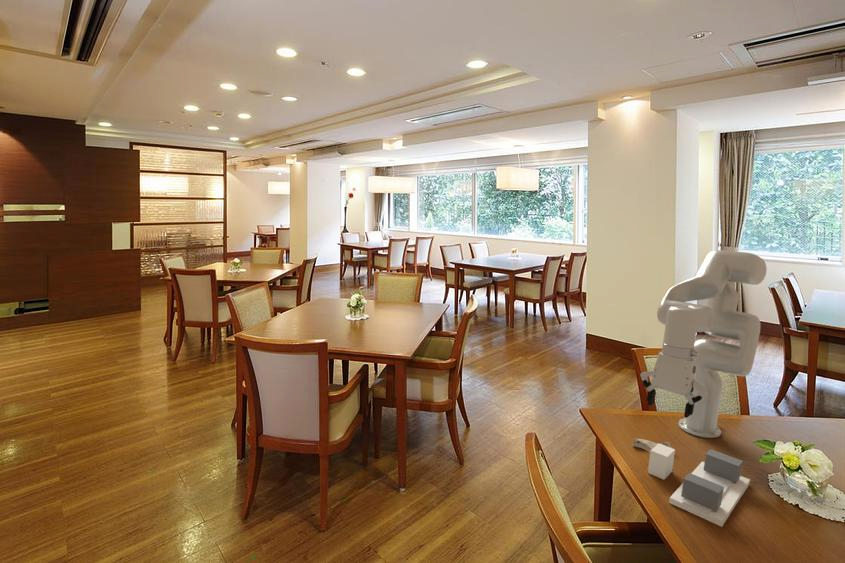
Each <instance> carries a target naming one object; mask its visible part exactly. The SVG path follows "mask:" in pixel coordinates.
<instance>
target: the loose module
mask: <svg viewBox="0 0 845 563" xmlns="http://www.w3.org/2000/svg"><path fill="white" fill-rule="evenodd" d="M662 444H663V443H658V444H657V445H656V446H655V447H654V448H653V449H652V450H651V451H650V452H649V460H648V468H647V473H648V474H650V475H651V476H654V477H657V478H659V479H662V480H665V479H667V478H668V477H669V476H670V475H671V473H672V472H673V467H674V461H675V455H676V449H675V448H673V447H672V448H670V447H667V446H664V445H662Z"/></svg>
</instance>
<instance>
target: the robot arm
mask: <svg viewBox="0 0 845 563" xmlns="http://www.w3.org/2000/svg"><path fill="white" fill-rule="evenodd" d="M766 275H767V264H766V262H765V260H764V258H762V257H760V256H758V255H757V254H754V253H750V252H745V251H743V252H742V251H734V250H723V249H721V250H720V249H719V250H718V249H717V250H712V251H709V252H708V253H707V254H706V255H705V256H704V257H703V260H702V261H701V263H700V265H699V267H698V268H697V270H696V273H694V275H693V277H692V278H689V279H686V280H684V281H681V282H679V283H677V284H675V285H673V286H672V287H670V288H669V289H668V290H666V291H667V292H666V293H665V294H664V296H663V297H662V299H661V301H660V302H659V305H658V308H657V312H656V316H657V321H659V323H661V324H662V325H664V326H665V327H664V334H663V340H662V346H661V351H659V353H658V354H657V358H656V360H655V363H654V367H653V370H649V371H643V372H641V373H640V374H639V376H640V378H641V381H642V384H643V385H644V387H645V388H646V392H647V396H646V402H647V406H652V405H654V404H655V400H656V394H657V390H656V388H657V389H661V390H664V391H667V392H671V393H675V394H677V395H681V396H684V399H685V400H686V403H685V407H684V412H683V413H684V415H683V416H684V418H681V419H679V420H678V426H679V428H680V429H681V430H682V431H684V432H686V433H688V434H690V435H693V436H696V437H700V438H707V439H714V438H715V439H717V438H719V437H720V436H721V435H722V430H721V429H720V427H718V418H719V413H720V411H719V410H720V405H721V398H722V394H723V393H722V392H723V387H724V384H723V380H722V377H721V376H720V374H719V372H721V373H724V374H729V375H733V376H739V377H746V376H747V377H748V375H750V373H751V371H752V369H753V366H754V362H755V357H756V353H757V352H756V351H757V349H758V348H757V347H758V345H759V338H760V335H761V320H760V319H759V317H758V316H756V315H755V314H752V313H747V312H744V311H743V312H741V311H738V310H737V307H738V305H739V300H740V297H739V293H738V290H736V288H735V287H734V285H733V283H738V284H745V285H752V286H753V285H754V286H757V285H759V284H761V283H762V282H763V281H764V280H765V277H766ZM702 300H707V301H706V302H707V303H706V305H702V304H696V303H691V302H692V301H693V302H694V301H702ZM697 333H705V334H706V335H709V336H712V337H715V338H721V339H725V340H731V341H736V342H737V343H739V345H738V344H737V345H736V344H731V343H727V342H725V341H724V342H722V341H719V340H714V339H709V338H707V339H706V338H700V339H696V338H697V336H696V334H697ZM648 377H651V382H650V380H649V378H648Z"/></svg>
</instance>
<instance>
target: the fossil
mask: <svg viewBox="0 0 845 563" xmlns="http://www.w3.org/2000/svg"><path fill="white" fill-rule="evenodd" d="M632 441H633V442H632V447H634V448H638V449H643V451H644V450H645V451H647V452H649V453H650V451H651V450H652V449H653V448H654V447H655V446H656V445H657V444H659V443H657V442H653V441H651V440H647V439H643V438H633V439H632ZM661 444H662V445H664V446H667V447H670V448H672V449H673V447H672V444H670V442H669V441H664V442H663V443H661Z"/></svg>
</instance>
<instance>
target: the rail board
mask: <svg viewBox="0 0 845 563" xmlns="http://www.w3.org/2000/svg"><path fill="white" fill-rule="evenodd" d="M743 463H744V461H743V460H741V459H740V458H736V457H733V456H731V455H727V454H725V453H722V452H719V451H717V450H714V449H709V450H708V451H707V452H706V453H705V458H704V461H701V462H700V463H699V464H698V466H697V467H696V468H695V469H694V470H693V471H692V472H688V473H687V474H686V476H684V477H683V481H682V483H681V484H680V485H679V487H678V488H677V489H676V490H675V491H674V492H673V493H672V495H671V496H670V497H669V501H668V503H669V504H671V505H673V506H676V507H677V508H678V509H679V508H680V509H682V510H684V511H687V512H688V513H690V514H693V515H695V516H697V517H700V518H702V519H703V520H706V521H708V522H710V523H713V524H715V525H717V526H719V527H723V526H724V525H725V523H726V521H727V520H728V519H729V517H730V515H731V513H732V512H733V511H734V509H735V507H736V506H737V504H738V503H739V501H740V500H741V497H743V495H744V494H745V492H746V490H747V489H748V487H749V486H750V483H751V482H750V481H751V479H750V478H747V477H746V476H745V477H744V476H741V474H742V468H743Z"/></svg>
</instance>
